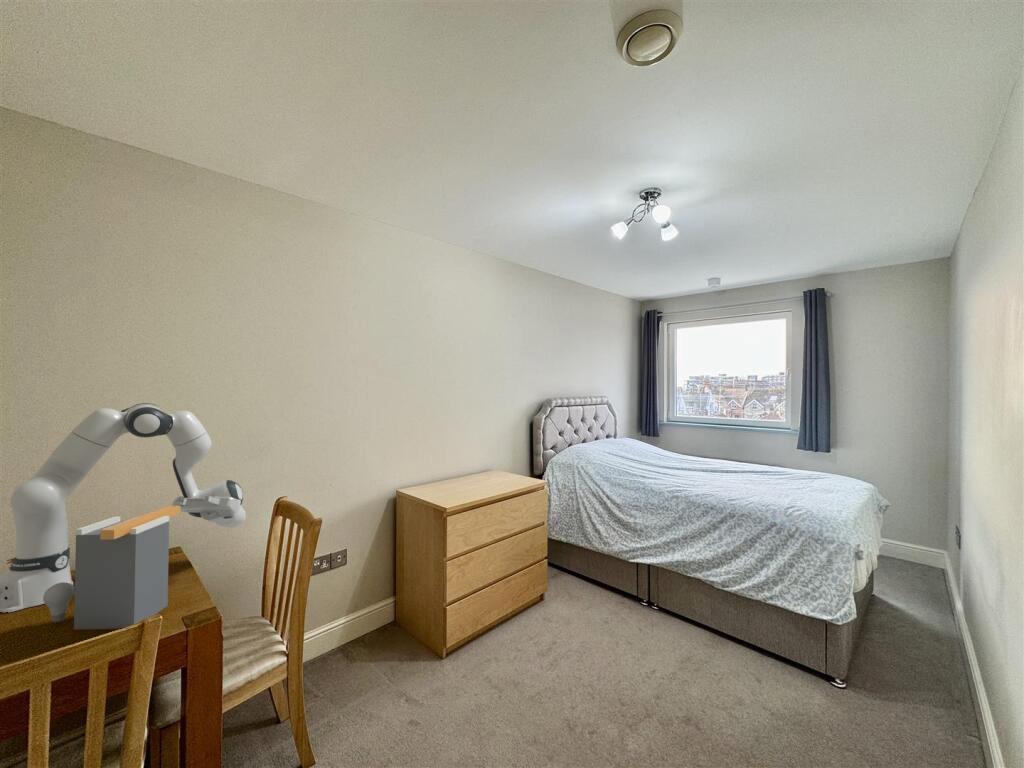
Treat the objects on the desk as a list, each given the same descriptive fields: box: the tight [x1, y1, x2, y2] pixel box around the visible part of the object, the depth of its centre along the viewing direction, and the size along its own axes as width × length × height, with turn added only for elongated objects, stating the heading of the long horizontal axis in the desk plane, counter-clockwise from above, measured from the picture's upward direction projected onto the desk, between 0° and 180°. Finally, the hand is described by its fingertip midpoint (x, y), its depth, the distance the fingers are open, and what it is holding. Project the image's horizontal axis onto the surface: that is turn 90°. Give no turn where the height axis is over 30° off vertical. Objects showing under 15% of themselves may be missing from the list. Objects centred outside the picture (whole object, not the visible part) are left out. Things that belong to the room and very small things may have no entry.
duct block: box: [73, 516, 170, 630], centre depth 122 cm, size 16×12×28 cm
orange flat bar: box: [100, 505, 181, 540], centre depth 124 cm, size 4×24×2 cm, turn 3°
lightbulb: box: [43, 582, 75, 623], centre depth 119 cm, size 6×6×11 cm
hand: (192, 498), depth 144 cm, fingers open, 8 cm apart
